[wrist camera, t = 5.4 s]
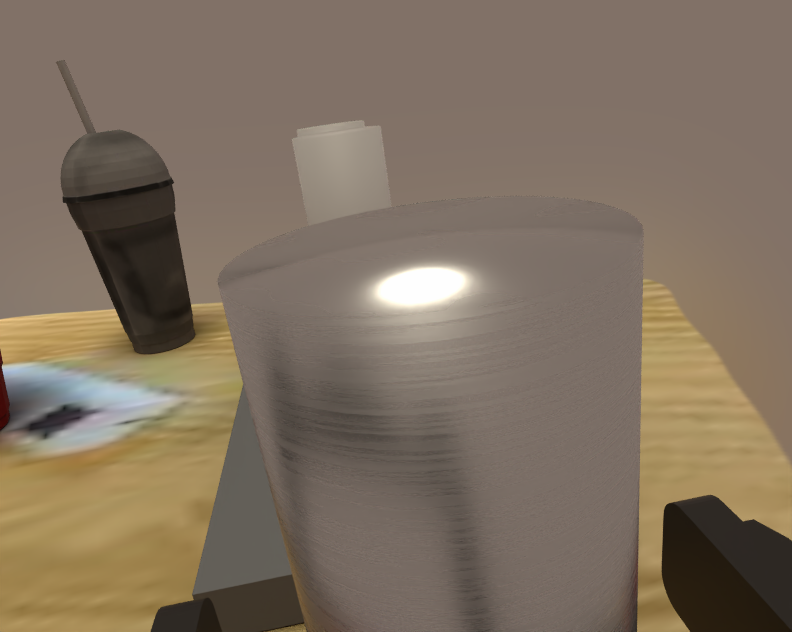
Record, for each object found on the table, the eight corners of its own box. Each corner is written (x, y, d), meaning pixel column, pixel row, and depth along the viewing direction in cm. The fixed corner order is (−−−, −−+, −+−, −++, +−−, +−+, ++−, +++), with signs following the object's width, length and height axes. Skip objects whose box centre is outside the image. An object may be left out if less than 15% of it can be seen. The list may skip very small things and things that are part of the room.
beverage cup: (225, 339, 44) (149, 46, 37) (121, 372, 40) (16, 57, 33) (200, 315, 50) (130, 60, 43) (108, 343, 46) (16, 70, 39)
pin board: (208, 642, 19) (59, 203, 14) (266, 337, 43) (220, 139, 38) (628, 552, 20) (632, 115, 15) (453, 304, 44) (433, 107, 39)
